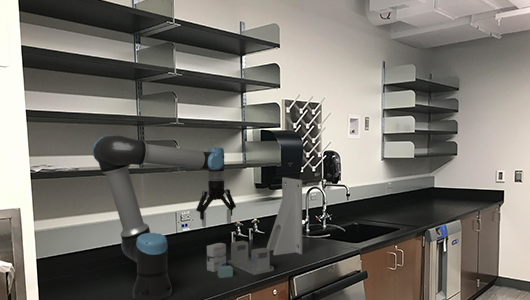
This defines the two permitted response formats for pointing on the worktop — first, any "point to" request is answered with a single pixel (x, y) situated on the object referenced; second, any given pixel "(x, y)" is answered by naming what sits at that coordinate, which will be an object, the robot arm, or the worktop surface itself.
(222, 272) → the block
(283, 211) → the grey mounting bracket
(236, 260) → the box holder
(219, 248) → the ink box
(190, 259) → the worktop surface
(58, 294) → the worktop surface
